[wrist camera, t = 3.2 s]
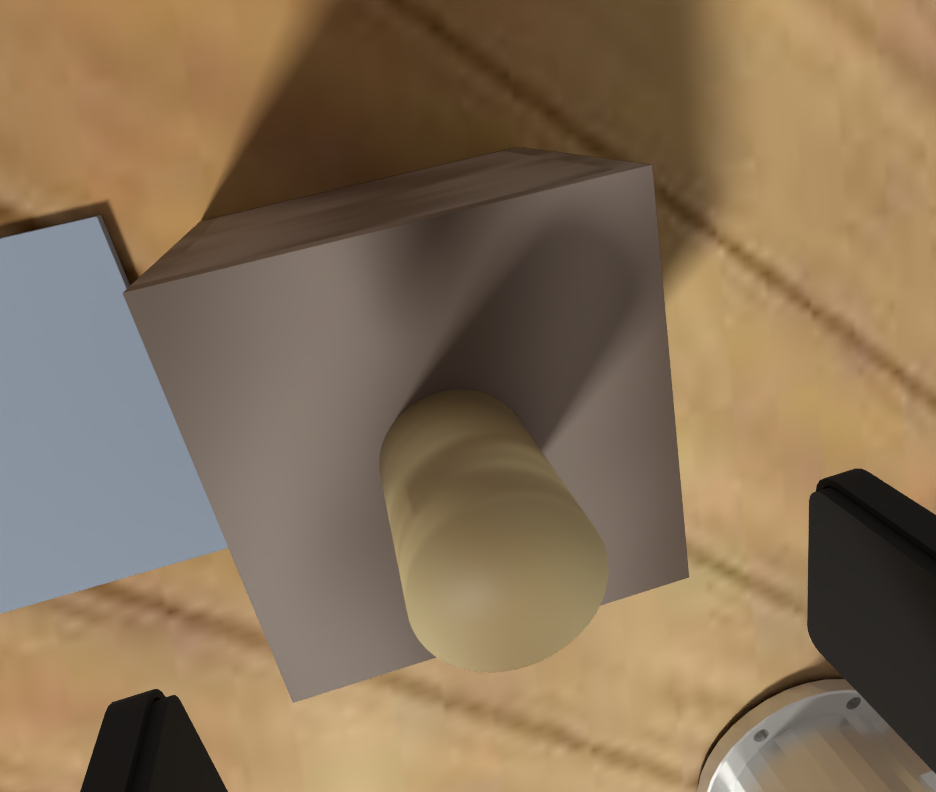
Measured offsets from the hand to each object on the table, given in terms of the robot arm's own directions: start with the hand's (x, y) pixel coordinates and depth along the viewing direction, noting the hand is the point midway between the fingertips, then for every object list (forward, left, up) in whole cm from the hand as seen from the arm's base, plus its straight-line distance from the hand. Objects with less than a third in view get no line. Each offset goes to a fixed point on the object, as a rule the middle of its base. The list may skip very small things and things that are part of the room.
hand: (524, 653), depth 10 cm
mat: (+15, 0, -18) cm, 23 cm away
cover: (0, 0, -18) cm, 18 cm away
